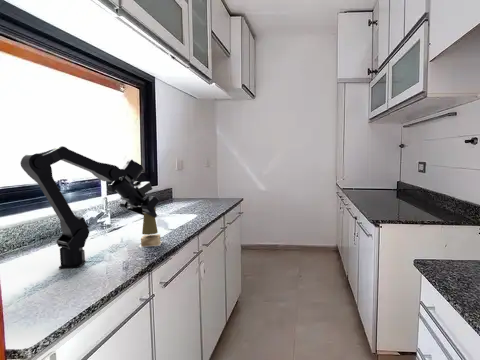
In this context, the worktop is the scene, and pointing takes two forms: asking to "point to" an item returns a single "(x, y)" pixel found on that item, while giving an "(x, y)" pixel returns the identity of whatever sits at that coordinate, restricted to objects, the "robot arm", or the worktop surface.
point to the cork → (149, 224)
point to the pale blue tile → (154, 245)
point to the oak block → (150, 240)
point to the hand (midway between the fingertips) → (152, 216)
